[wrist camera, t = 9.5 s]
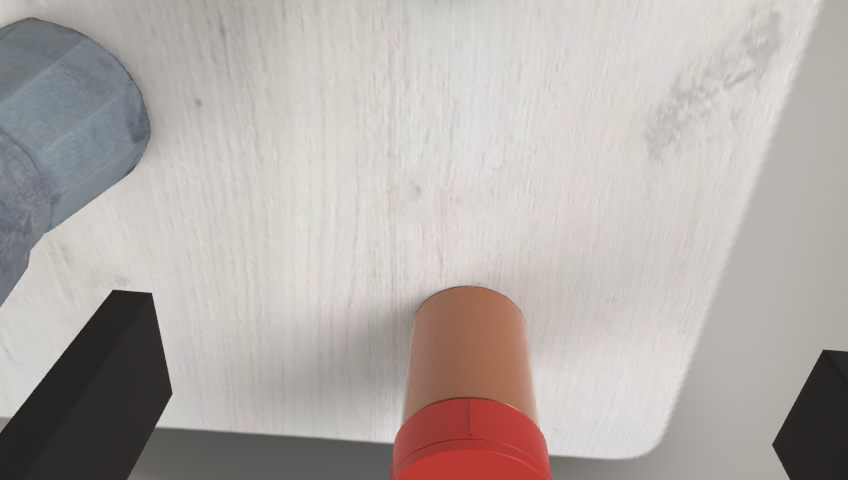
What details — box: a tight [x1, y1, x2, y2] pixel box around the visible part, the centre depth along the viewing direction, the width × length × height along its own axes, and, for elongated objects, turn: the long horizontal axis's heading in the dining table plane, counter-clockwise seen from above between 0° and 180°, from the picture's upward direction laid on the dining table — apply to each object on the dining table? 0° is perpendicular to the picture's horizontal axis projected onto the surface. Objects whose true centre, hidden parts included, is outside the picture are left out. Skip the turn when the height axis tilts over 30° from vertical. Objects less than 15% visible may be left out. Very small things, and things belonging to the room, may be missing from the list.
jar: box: [400, 286, 540, 429], centre depth 35 cm, size 7×7×12 cm
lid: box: [390, 399, 552, 480], centre depth 30 cm, size 8×8×3 cm
